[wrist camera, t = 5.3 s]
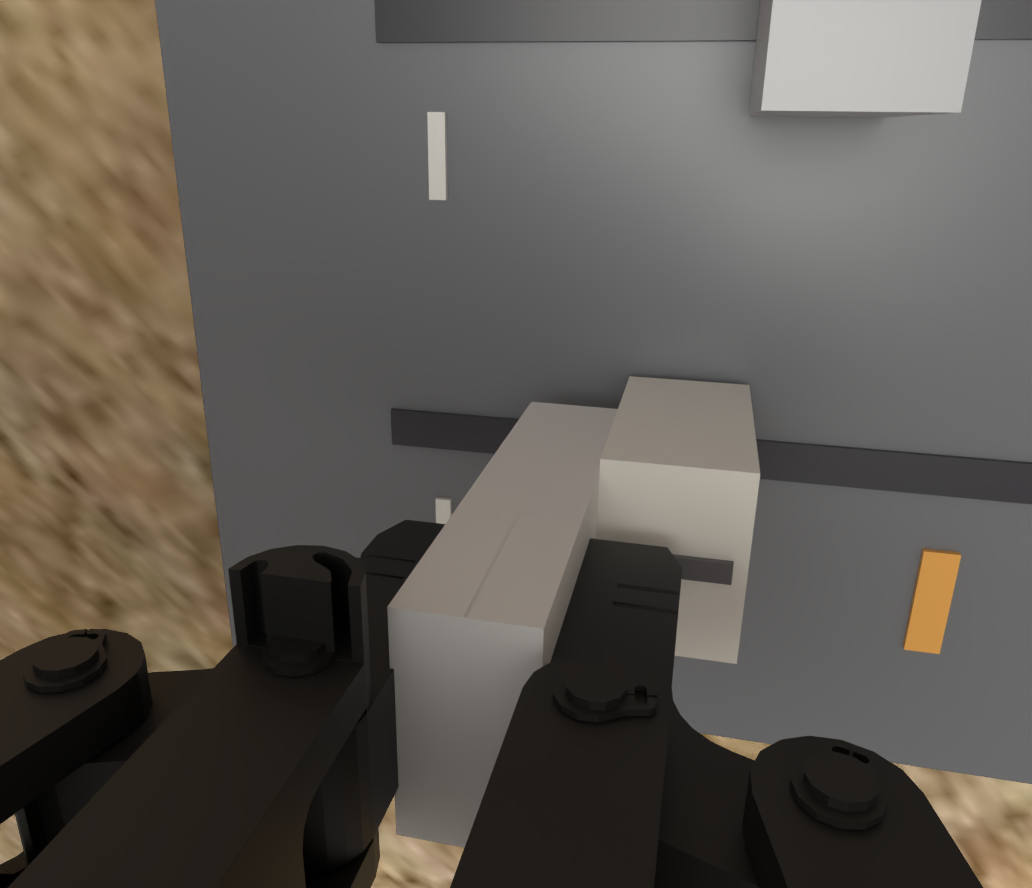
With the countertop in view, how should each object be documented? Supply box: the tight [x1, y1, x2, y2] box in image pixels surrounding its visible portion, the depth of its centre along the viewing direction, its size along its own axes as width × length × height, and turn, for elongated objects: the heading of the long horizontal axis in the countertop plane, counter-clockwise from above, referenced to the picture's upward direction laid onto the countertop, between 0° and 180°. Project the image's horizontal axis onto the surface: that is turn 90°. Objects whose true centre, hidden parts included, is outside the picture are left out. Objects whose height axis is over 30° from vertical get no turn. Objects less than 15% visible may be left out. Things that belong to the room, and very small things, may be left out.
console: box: [155, 0, 1032, 784], centre depth 14 cm, size 22×18×5 cm
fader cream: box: [596, 376, 760, 664], centre depth 13 cm, size 2×3×4 cm
